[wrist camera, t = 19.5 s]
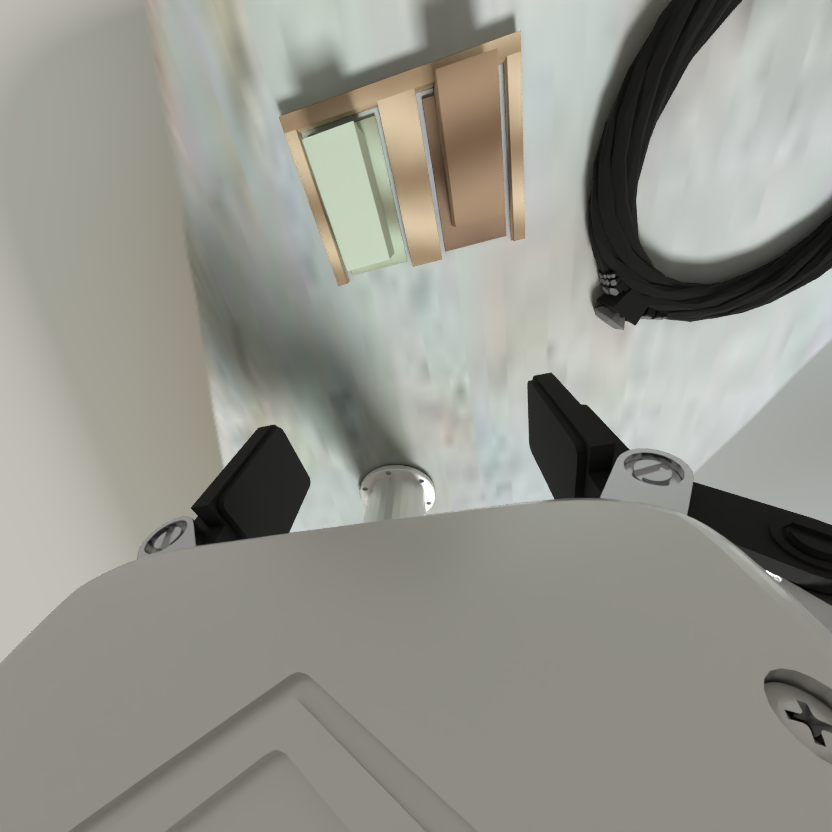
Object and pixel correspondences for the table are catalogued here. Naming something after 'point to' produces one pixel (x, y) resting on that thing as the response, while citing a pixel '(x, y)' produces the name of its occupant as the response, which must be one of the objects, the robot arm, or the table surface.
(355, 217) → the sage bar
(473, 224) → the oak rack
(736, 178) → the table surface
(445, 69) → the walnut bar
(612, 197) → the cable lock
